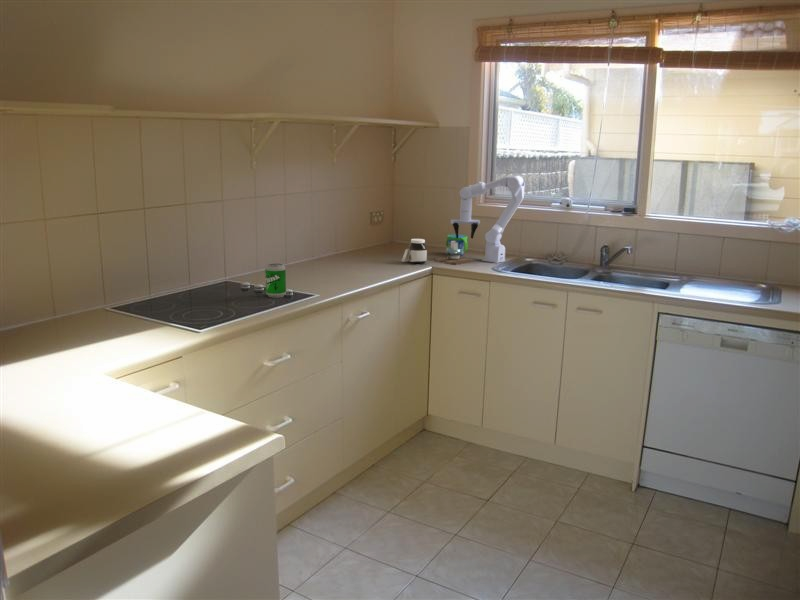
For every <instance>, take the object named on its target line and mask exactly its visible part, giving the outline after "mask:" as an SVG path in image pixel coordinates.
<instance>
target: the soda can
mask: <svg viewBox="0 0 800 600" xmlns="http://www.w3.org/2000/svg"><path fill="white" fill-rule="evenodd" d="M266 265H267V266H265V267H264V268H265V270H264V272H265V275H264V276H265V294H266V295H267V297H269V298H283V297H285V295H286V294H287V280H286V279H287V277H286V273H287V272H286V266H285V265H284V264H283V263H278V262H276V263H268V264H266Z"/></svg>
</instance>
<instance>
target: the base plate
mask: <svg viewBox="0 0 800 600" xmlns="http://www.w3.org/2000/svg"><path fill="white" fill-rule="evenodd" d="M436 261H439V262H438V263H442V262H445V263H444V264H448V263H451V264H450V265H453V264H458V265H462V264H461V263H463V264H467V262H469V263H472V262H473V263H474V259H473V258H465V257H461V256H460V255H448V254H447V256H443V257H438V258H433V262H436Z"/></svg>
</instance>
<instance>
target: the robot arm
mask: <svg viewBox="0 0 800 600" xmlns="http://www.w3.org/2000/svg"><path fill="white" fill-rule="evenodd" d="M501 186H502V187H504V188H508V189H509V191H510V193H511V196H512V197H511V199H510V201H509V202H508V203H507V206H506V207H505V208H504V210H503V212H502V213H501V215H500V216H499V218H498V219H497V221H495V224H494V225H493V226H492V227H491V229H490V230H489V231H487V232H486V233H485V235H484V239H485V256H484V258H483V259H481V261H483V262H489V263H495V264H499V263H503V262H506V247H505V245H504V244H501V242H502V241H500V240H501V239H502V238H503V233H504V231H505V228H506V227H507V224H509V222H510V220H511V219H512V217H513V216H514V214H515V213H516V211H517V210H518V208H519V206H520V205H521V203H522V202H523V201H524V199H525V187H526V184H525V180H524V178H523V177H522V176H521V175H519V174H518V175H512V176H507V177H501V178H499V179H496V180H492V181H490V182H487V183H485V182H483V181H478V182H477V183H475V184H469V185H468V186H464V187H462V188H461V189H460V191H459V196H460V206H459V207H460V208H459V212H460V213H459V219H450V224H452V226H453V229H454V233H455V235H456V238H458V235H459V229H460V225H461V224H462V225H463V224H465V225H471V227H470V231H471V233H470V238H471V239H474V236H475V232H476V230H477V229H478V227H479V225H480V224H481V220H480V219H472V211H473V197H478V196H481V195H484V194H486V193H487V192H488V190H492V189H494V188H498V187H501Z"/></svg>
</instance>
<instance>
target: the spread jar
mask: <svg viewBox="0 0 800 600" xmlns="http://www.w3.org/2000/svg"><path fill="white" fill-rule="evenodd" d="M407 255H408V256H407ZM407 257H408V258H407ZM427 257H428V248H427V245H426V239H424V238H411V239H410V244H409V245H408V248H406V249H405V250H404V253H403V256H402V258H401V263H403V262H404V263H405V261H406V258H407V259H408V262H409V263H410V264H411V265H416V264H420V265H424V264H426V263H427V261H428V260H427V259H428V258H427Z"/></svg>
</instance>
